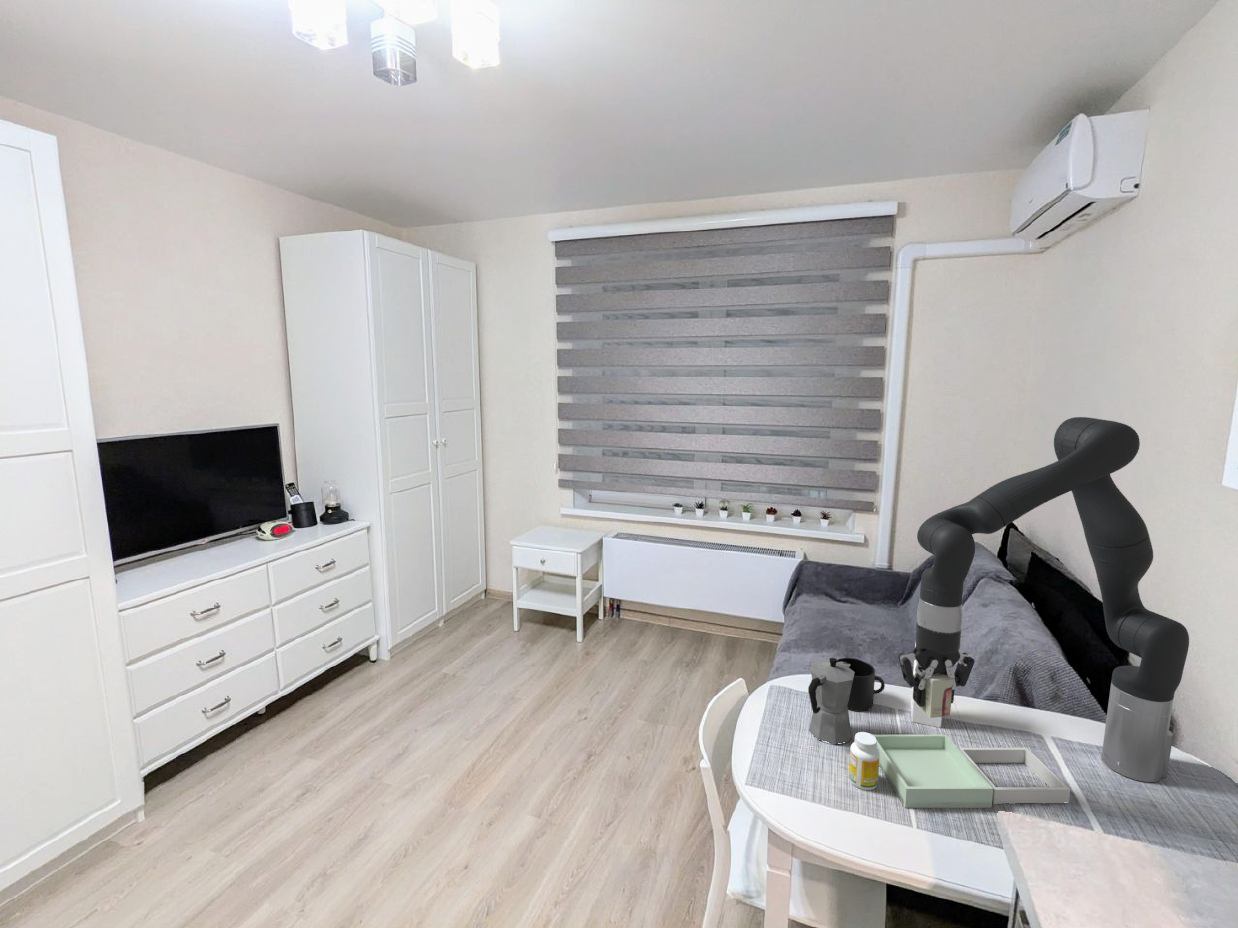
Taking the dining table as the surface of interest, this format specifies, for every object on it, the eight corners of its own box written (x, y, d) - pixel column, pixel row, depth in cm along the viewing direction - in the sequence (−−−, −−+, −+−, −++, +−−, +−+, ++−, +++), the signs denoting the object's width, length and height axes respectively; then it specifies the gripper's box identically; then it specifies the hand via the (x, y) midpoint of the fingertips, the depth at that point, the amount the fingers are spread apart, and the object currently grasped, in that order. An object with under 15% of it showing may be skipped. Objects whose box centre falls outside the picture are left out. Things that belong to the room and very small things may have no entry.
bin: (944, 751, 122) (946, 734, 122) (991, 807, 106) (993, 788, 106) (869, 751, 123) (870, 734, 122) (904, 807, 107) (906, 788, 106)
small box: (951, 717, 110) (954, 679, 109) (929, 718, 109) (932, 680, 108) (934, 702, 115) (937, 665, 113) (914, 703, 114) (916, 667, 113)
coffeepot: (826, 711, 137) (830, 641, 134) (864, 730, 130) (868, 656, 127) (789, 738, 127) (791, 663, 125) (827, 759, 120) (831, 680, 117)
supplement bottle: (844, 782, 114) (846, 738, 112) (854, 768, 118) (857, 725, 116) (872, 795, 110) (874, 750, 108) (881, 780, 114) (884, 737, 112)
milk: (910, 708, 138) (916, 622, 135) (938, 714, 135) (945, 626, 132) (911, 722, 132) (917, 632, 129) (941, 728, 130) (948, 637, 127)
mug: (889, 714, 136) (891, 679, 134) (836, 709, 138) (837, 675, 136) (878, 692, 145) (880, 659, 143) (829, 688, 147) (830, 656, 145)
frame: (1024, 760, 119) (1026, 747, 119) (1068, 803, 107) (1070, 789, 107) (957, 760, 119) (958, 747, 119) (993, 803, 107) (994, 789, 107)
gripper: (965, 613, 113) (958, 693, 115) (892, 614, 113) (887, 693, 116) (988, 630, 105) (980, 715, 108) (910, 631, 106) (904, 715, 108)
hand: (932, 703), depth 112 cm, fingers closed on small box, 4 cm apart
